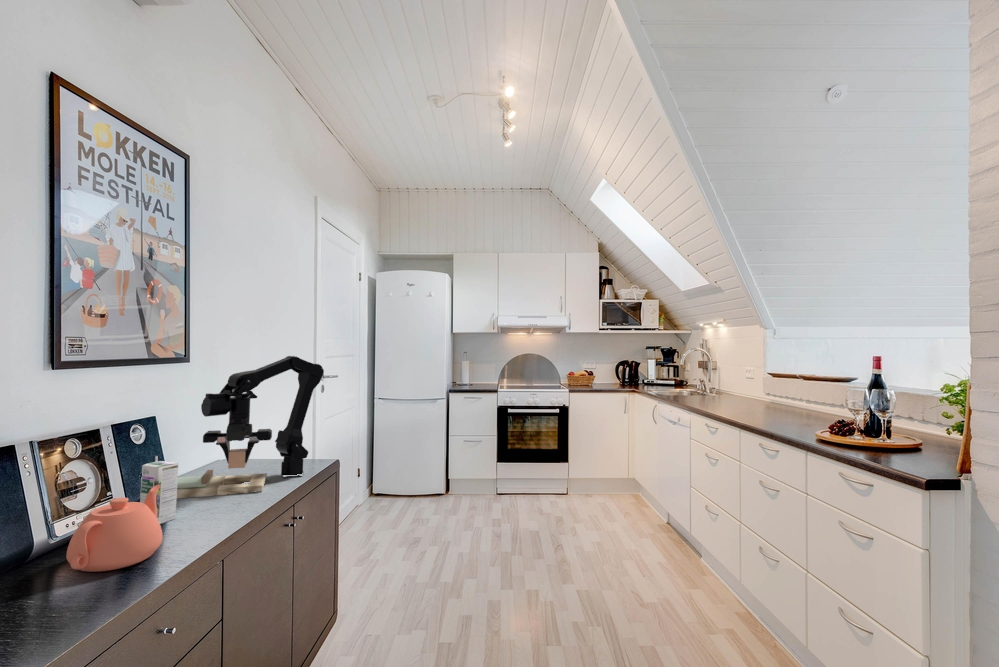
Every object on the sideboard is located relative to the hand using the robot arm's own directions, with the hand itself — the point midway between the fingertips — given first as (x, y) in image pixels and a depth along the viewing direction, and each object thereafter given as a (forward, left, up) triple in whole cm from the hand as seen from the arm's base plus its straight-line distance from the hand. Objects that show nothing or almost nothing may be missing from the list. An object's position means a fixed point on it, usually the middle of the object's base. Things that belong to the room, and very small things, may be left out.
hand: (237, 463), depth 153 cm
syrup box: (+14, +27, -8) cm, 32 cm away
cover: (+13, 0, -5) cm, 14 cm away
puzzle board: (+4, 0, -8) cm, 9 cm away
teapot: (+15, +49, -8) cm, 52 cm away
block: (0, 0, -1) cm, 1 cm away
